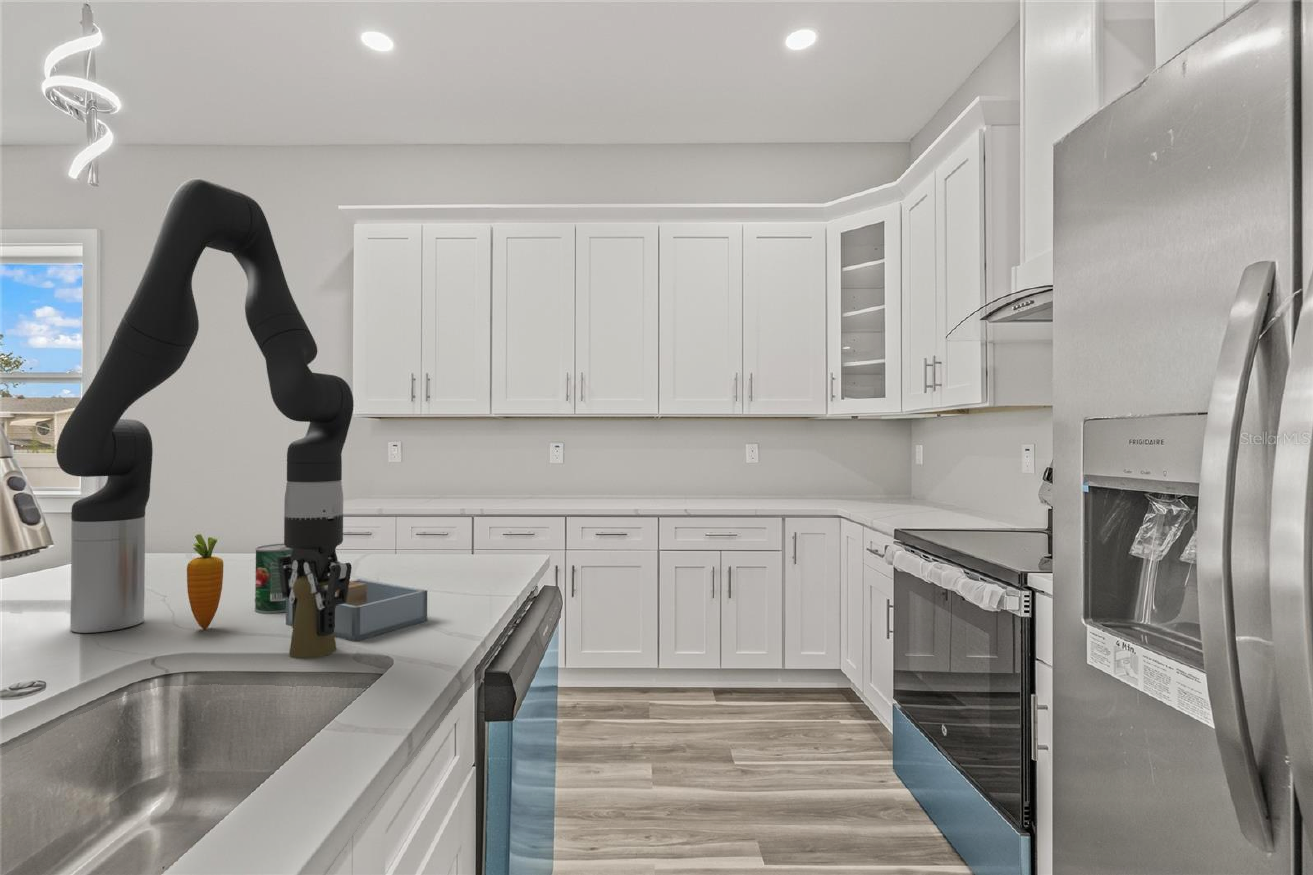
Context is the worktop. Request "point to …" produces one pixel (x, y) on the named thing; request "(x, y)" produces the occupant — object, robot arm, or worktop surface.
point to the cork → (308, 624)
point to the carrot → (204, 582)
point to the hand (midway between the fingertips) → (313, 631)
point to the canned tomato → (269, 579)
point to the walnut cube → (356, 593)
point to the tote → (377, 611)
